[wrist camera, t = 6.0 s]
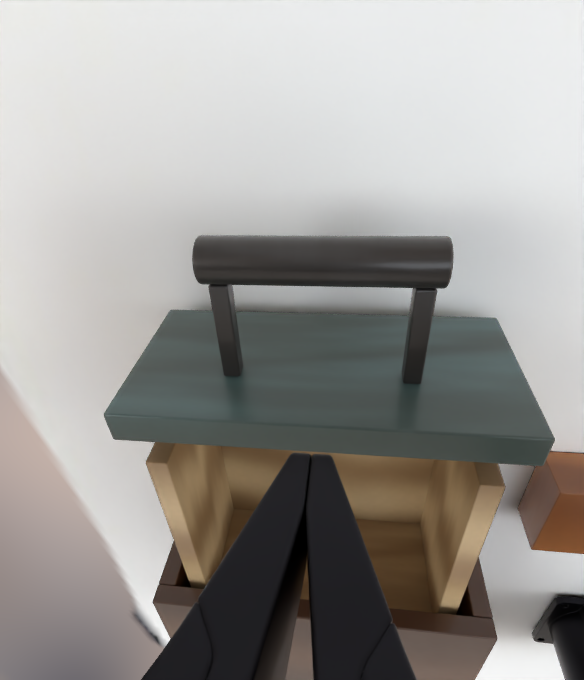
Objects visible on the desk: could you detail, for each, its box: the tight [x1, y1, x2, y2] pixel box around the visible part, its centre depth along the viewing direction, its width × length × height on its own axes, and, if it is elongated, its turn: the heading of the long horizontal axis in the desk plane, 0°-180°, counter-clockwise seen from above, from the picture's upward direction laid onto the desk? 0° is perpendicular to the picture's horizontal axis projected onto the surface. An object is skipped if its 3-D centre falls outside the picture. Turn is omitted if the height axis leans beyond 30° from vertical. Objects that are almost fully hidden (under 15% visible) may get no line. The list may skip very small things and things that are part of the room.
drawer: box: [104, 235, 555, 615], centre depth 18 cm, size 18×13×6 cm
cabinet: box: [153, 541, 497, 680], centre depth 26 cm, size 15×15×8 cm
